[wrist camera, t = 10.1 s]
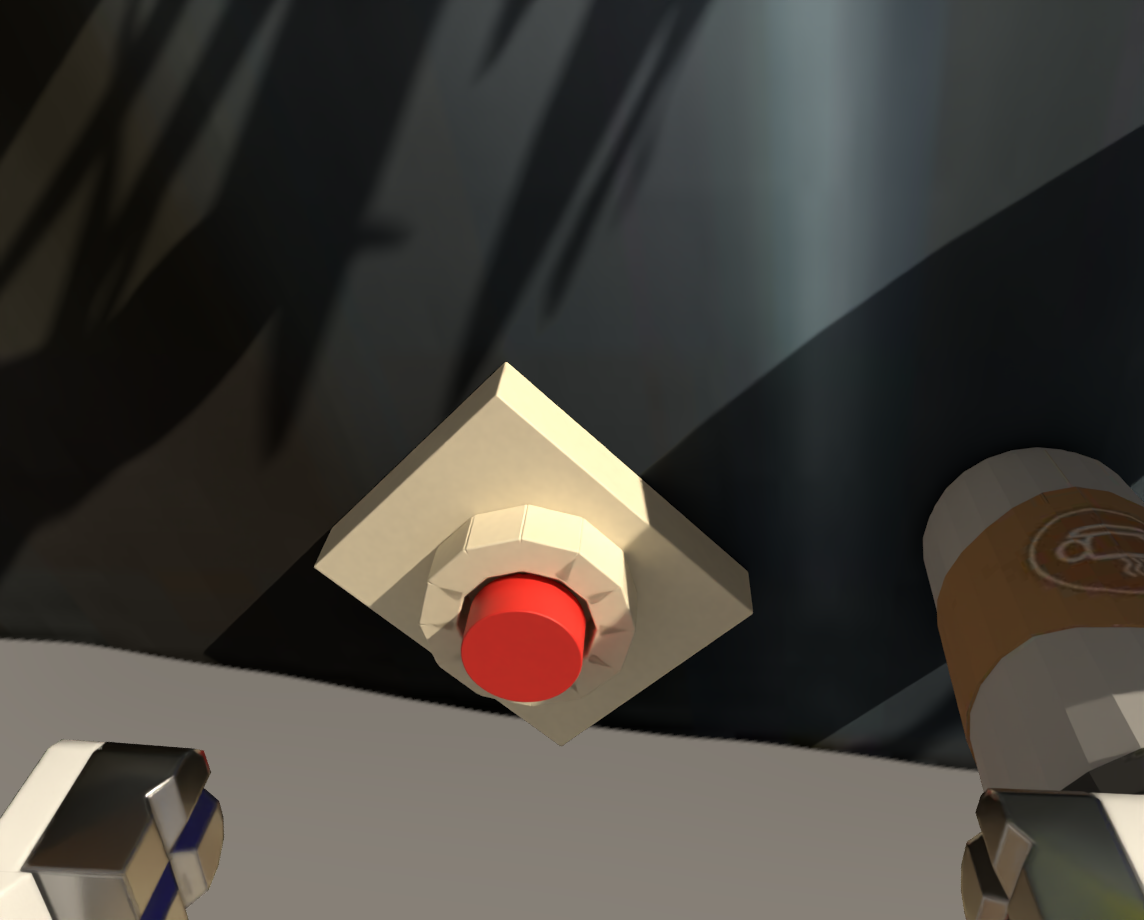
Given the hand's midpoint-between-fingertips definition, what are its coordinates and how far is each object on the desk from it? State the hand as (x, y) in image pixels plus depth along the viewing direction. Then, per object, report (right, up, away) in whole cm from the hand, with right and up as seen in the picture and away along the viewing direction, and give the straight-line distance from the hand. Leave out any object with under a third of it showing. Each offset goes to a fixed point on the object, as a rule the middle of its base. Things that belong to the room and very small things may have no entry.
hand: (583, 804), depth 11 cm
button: (-2, -1, +20) cm, 21 cm away
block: (-1, +1, +24) cm, 24 cm away
